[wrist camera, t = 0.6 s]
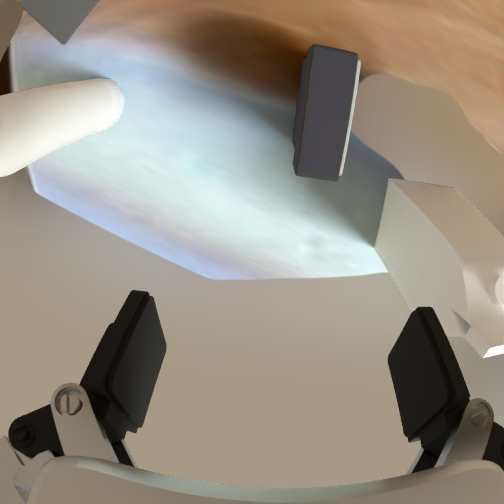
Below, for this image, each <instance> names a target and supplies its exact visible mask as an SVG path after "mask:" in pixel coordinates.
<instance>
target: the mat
mask: <svg viewBox="0 0 504 504" xmlns="http://www.w3.org/2000/svg"><path fill="white" fill-rule="evenodd" d="M98 1H99V0H21V1H20V2H19V5H20V6H22V7H23V8H24V9H25V10H26V11H27V12H28V13H29V14H30V15H31V16H33V17H34V18H35V19H36V20H37V21H38V22H39V23H40V24H41V25H42V26H44V27H45V28H46V29H47V30H48V31H49V32H50V33H51V34H52V35H53V36H54V37H55V38H57V39H58V40H59V41H60V42H61V43H62V44H66V42H67V41H68V39H69V38H70V37H71V35H72V34H73V33H74V31H75V30H76V28H77V27H78V26H79V25H80V23H81V22H82V21H83V19H84V18H85V17H86V16H87V14H88V13H89V12H90V11H91V9H92V8H93V7H94V6H95V5H96V4H97V2H98Z"/></svg>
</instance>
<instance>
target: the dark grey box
mask: <svg viewBox="0 0 504 504" xmlns="http://www.w3.org/2000/svg"><path fill="white" fill-rule="evenodd" d="M360 63H361V62H360V60H358V54H357V53H354V52H350V51H345V50H341V49H337V48H332V47H327V46H322V45H316V44H313V45H312V46H311V47H310V48H309V49H308V51H307V58H306V59H304V60H303V61H302V67H301V76H300V84H299V92H298V100H297V108H296V116H295V124H294V131H293V139H292V142H293V145H294V149H295V152H294V159H293V166H294V170H295V174H296V175H297V176H303V177H310V178H317V179H324V180H330V181H337V180H338V178H339V176H341V175H342V172H343V167H344V162H345V157H346V152H347V147H348V141H349V136H350V130H351V124H352V119H353V112H354V105H355V100H356V93H357V86H358V79H359V72H360Z"/></svg>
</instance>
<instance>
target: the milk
mask: <svg viewBox="0 0 504 504" xmlns="http://www.w3.org/2000/svg"><path fill="white" fill-rule="evenodd" d="M374 249H375V250H376V252H377V254H378V255H379V257H380V258H381V260H382V262H383V263H384V265H385V267H386V269H387V270H388V272H389V274H390V275H391V277H392V278H393V280H394V282H395V284H396V286H397V287H398V289H399V291H400V293H401V295H402V297H403V298H404V300H405V302H406V304H407V306H408V307H409V310H410V311H411V313H412V311H415V309H416V308H417V307H432V308H433V309H434V311H435V313H436V315H437V317H438V319H439V321H440V323H441V325H442V327H443V330H444V332H445V334H446V336H454V337H455V336H456V337H465V339H466V340H467V341H468V342H469V343H470V344H471V345H472V346H473V347H474V349H475V350H476V351H477V352H478V353H479V354H480V355H481V356H482V357H483V358H484V357H489V356H493V355H498V354H502V353H504V237H503V236H502V235H501V233H500V232H499V231H498V230H497V229H496V228H495V227H494V226H493V225H492V224H491V223H490V222H489V221H488V220H487V219H486V218H485V217H484V216H483V215H482V214H481V213H480V212H479V211H478V210H477V209H476V208H475V207H474V206H473V205H472V204H471V203H470V202H469V201H468V200H467V199H466V198H465V197H464V196H462V195H461V194H460V193H459V192H458V191H457V190H456V189H454V188H452V187H446V186H440V185H434V184H428V183H422V182H415V181H408V180H400V179H393V178H389V179H388V184H387V190H386V196H385V201H384V206H383V211H382V216H381V220H380V225H379V229H378V234H377V238H376V242H375V247H374Z"/></svg>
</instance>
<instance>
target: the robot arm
mask: <svg viewBox="0 0 504 504" xmlns="http://www.w3.org/2000/svg"><path fill="white" fill-rule="evenodd" d="M165 353H166V341H165V338H164V335H163V331H162V328H161V324H160V320H159V317H158V313H157V309H156V305H155V302H154V298H153V297H152V296H150V295H149V293H148V292H145V291H137V290H132V291H131V292H130V294H129V295H128V297H127V299H126V301H125V303H124V305H123V306H122V308H121V310H120V312H119V314H118V316H117V318H116V320H115V321H114V323H111V324H110V325H109V326H108V328H107V329H106V331H105V333H104V335H103V337H102V339H101V341H100V343H99V345H98V347H97V349H96V351H95V353H94V355H93V357H92V359H91V361H90V363H89V365H88V367H87V369H86V372H85V374H84V376H83V378H82V380H81V382H80V384H79V385H78V384H76V383H67V384H63V385H61V386H60V387H58V388H57V389H56V390H55V392H54V393H53V395H52V398H51V404H49V405H47V406H45V407H42V408H40V409H38V410H35V411H33V412H31V413H28V414H26V415H23V416H21V417H19V418H17V419H15V420H14V421H13V422H12V424H11V426H10V428H9V436H8V437H6V436H3V437H2V438H1V439H0V504H504V428H503V427H502V426H500V425H499V424H497V423H495V422H494V413H493V409H492V407H491V406H490V404H489V403H488V402H487V401H486V400H484V399H481V398H475V399H472V400H471V401H470V399H469V397H470V394H469V391H468V388H467V386H466V383H465V380H464V377H463V375H462V372H461V370H460V367H459V364H458V362H457V360H456V357H455V355H454V352H453V350H452V348H451V345H450V343H449V341H448V339H447V336H446V334H445V332H444V330H443V327H442V325H441V323H440V321H439V319H438V317H437V315H436V313H435V311H434V309H433V308H432V307H417V308H416V309H415V311H412V313H411V315H410V317H409V319H408V321H407V323H406V325H405V326H404V328H403V330H402V332H401V334H400V336H399V338H398V340H397V341H396V343H395V345H394V347H393V348H392V350H391V352H390V354H389V356H388V365H389V369H390V372H391V377H392V381H393V384H394V389H395V393H396V398H397V402H398V407H399V411H400V416H401V421H402V426H403V431H404V435H405V436H406V437H408V442H415V441H419V440H420V441H421V448H420V450H419V452H418V454H417V455H416V457H415V459H414V461H413V463H412V464H411V466H410V468H409V469H408V471H407V473H406V474H405V475H402V476H398V477H393V478H388V479H383V480H377V481H371V482H364V483H357V484H349V485H339V486H328V487H311V488H260V487H245V486H233V485H224V484H215V483H208V482H201V481H195V480H189V479H184V478H179V477H174V476H169V475H164V474H160V473H155V472H151V471H147V470H143V469H139V468H138V467H137V465H136V463H135V461H134V459H133V457H132V455H131V454H130V451H129V449H128V447H127V445H126V443H125V441H124V438H125V435H126V432H127V431H130V432H133V433H136V432H137V428H138V427H139V428H141V427H142V425H143V423H144V420H145V416H146V413H147V410H148V406H149V403H150V400H151V396H152V393H153V390H154V387H155V384H156V381H157V377H158V374H159V371H160V368H161V365H162V362H163V359H164V356H165Z"/></svg>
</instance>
